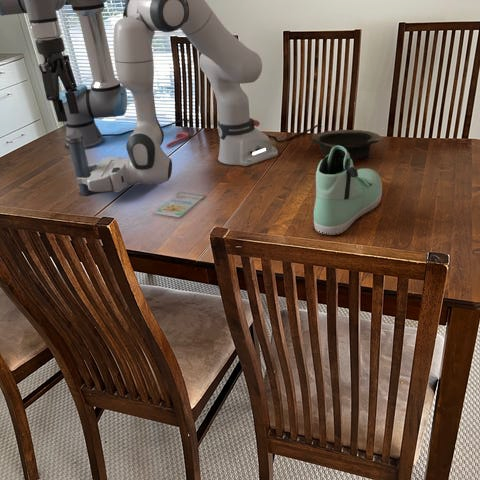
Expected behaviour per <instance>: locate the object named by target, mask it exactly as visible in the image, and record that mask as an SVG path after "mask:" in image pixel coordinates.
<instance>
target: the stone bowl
mask: <svg viewBox="0 0 480 480" xmlns="http://www.w3.org/2000/svg"><path fill="white" fill-rule="evenodd" d="M383 139H384V137H383V136H381V134H378V133H376V132H373V131H369V130H361V129H338V130H337V129H336V130H327V131H322V132H316V133H315V134H313V135H312V137H311V138H310V141H312V142H313V143H316V144H319V149H320V152H321V153H322V155H323V156H324V157H326V156H327V155H329V154H330V152H331V149H332V148H333V147H334V146H342V147H344V148H345V149H346V150H347V152H348V153H349V156H350V159H352V161H353V164H354V163H357V161H358V159H367V158H369V157H370V154H371V148H372V145H373V144H376V143H378V142H381V141H382V140H383Z"/></svg>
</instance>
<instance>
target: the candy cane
mask: <svg viewBox="0 0 480 480" xmlns="http://www.w3.org/2000/svg"><path fill="white" fill-rule="evenodd" d="M174 137H175V138H177V139H174V140H172V141H170V142H168V143H166V144H165V146H166V148H170V147H171V146H174V145H176V144H178V143H180V142H182V141H184V140H186V139H188V138H189V137H190V133H188V132H178V133H176V134H175V135H174Z"/></svg>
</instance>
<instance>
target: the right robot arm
mask: <svg viewBox="0 0 480 480" xmlns="http://www.w3.org/2000/svg"><path fill="white" fill-rule="evenodd" d="M179 29H180V31H181V32H182V34H183V35H184V36H185V37H186V39H188V41H189V42H190V43H191V44H192V45H193V47H194V48H195V49H196V51H197V52H199V53H200V56H199V67H200V70H201V71H202V73H203V74H204V75H205V76H206V77H207V79H208V81H209V83H210V85H211V89H212V91H213V94H214V96H215V100H216V106H217V107H216V109H217V115H218V121H217V132H218V137H219V151H218V156H217V160H218V161H219V162H220V163H222V164H225V165H230V166H231V165H232V166H233V165H234V166H244V167H247V166H251V165H253V164H257V163H260V162H263V161H265V160H270V159H272V158H275V157H277V156H278V155H279V151H278V149H277V148H276V147H275V146H274V145H272V141H271V139H274V140H275V142H277V143H282V142H286V141H289V140H291V139H293V138H296V137H298V136H301V135H303V134H306V133H309V132H311V131H313V130H314V129H316V128H318V127H319V128H322V127H323V126H322V125H321V124H316V125H314V126H313V127H311V128H309V129H306V130H304V131H302V132H299V133H297V134H293V135H291V136H290V137H288V138H285V139H281V140H279V139H278V138H276V136H273V135H270V134H267V133H264V132H263V131H261V130H260V129H258V128H256V127H259V126H260V125H261V124H260V123H261V122H260V121H259V120H257V119H253V118H251V117H250V104H249V103H250V102H249V101H250V100H249V97H248V94H247V93H246V92H245V91H244V90H243V88H242V86H241V84H251V83H254V82H256V81H257V80H258V79H259V78H260V76H261V74H262V72H263V71H262V70H263V62H262V58H261V56H260V55H259V53H257V52H256V51H254V50H252V49H250V48H248V46H246V45H245V44H244V43H243V42H242V41H240V40H239V39H238V38H237V37H236V36H235V35H234V34H232V33H231V32H230V31H229V30H228V29H227V27H225V26H224V24H223V23H222V21H221V20H220V19H219V17H218V16H217V15H216V13H215V12H214V11H213V9H212V8H211V6H210V5H209V4H208V2H207V1H206V0H125V2H124V9H123V13H122V18H120V19H119V20H117V21H116V23H115V25H114V27H113V58H114V66H115V71H116V75H117V79H118V80H119V81H120V85H121V86H124V87H125V88H126V90H128V91H129V92H131V94H132V97H133V102H134V108H135V115H136V124H135V127H134V129H133V130H134V131H133V132H131V133H130V135H129V137H128V139H127V140H126V145H125V147H126V152H127V154H128V157H126V158H125V157H124V158H123V157H118V156H108V157H107V156H106V157H102V159H101V160H100V161H99V162H97V163H94V164H88V165H89V169H90V173H91V176H90V177H87V178H83V177H78V178H77V177H76V183H77V184H78V185H79V184H85V185H88V189H89V190H90V191H94V193H95V192H96V193H97V192H99V193H100V192H111V191H113V192H115V193H118V192H121V191H122V190H124V189H125V188H127V187H129V186H136V185H139V184H143V185H155V184H163V183H166V182H168V181H169V180H170V179H171V176H172V173H173V172H172V171H173V160H172V158H171V157H169V156H168V155H167V154H166V153H165V152H164V150H163V148H162V147H161V146H162V144H163V142H164V139H165V133H164V130H163V128H161V124H160V122H159V120H158V117H157V112H156V104H155V96H154V95H155V94H154V79H155V77H154V76H155V66H154V65H155V64H154V53H153V47H152V46H153V39H154V36H155V34H156V32H162V33H173V32H175V31H178V30H179Z"/></svg>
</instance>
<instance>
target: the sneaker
mask: <svg viewBox="0 0 480 480" xmlns="http://www.w3.org/2000/svg"><path fill="white" fill-rule="evenodd" d="M317 165H318V166H317V168H316V172H315V201H314V207H313V225H314V229H315V231H316V232H318V233H320V234H323V235H326V236H327V235H328V236H336V235H339V234H342V233H344V232H345V231H347V230H348V229H349V228H350V227H351V226H352V225H353V224H354V222H356V221H357V220H358V219H359V218H360V217H362V216H363V215H365V214H367V213H370V212H372V210H374V209H375V208H377V207H378V205H380V203H381V200H382V196H383V184H382V183H383V182H382V179H381V176H380V175H379V173H378V172H377V171H376V170H374V169H372V168H367V167H365V168H358V169H357V168H355V167H354V163H353V161H352V159H350V156H349V153H348V152H347V150H346V149H345V148H344V147H342V146H334V147H333V148H332V149H331V152H330V154H329V155H327V156H324V158H322V159H321V160H320V161H319V163H318V164H317ZM343 230H344V231H343ZM319 231H320V232H319ZM322 232H323V233H322ZM339 232H340V233H339ZM326 233H327V234H326ZM328 233H329V234H328ZM335 233H337V234H335Z"/></svg>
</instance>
